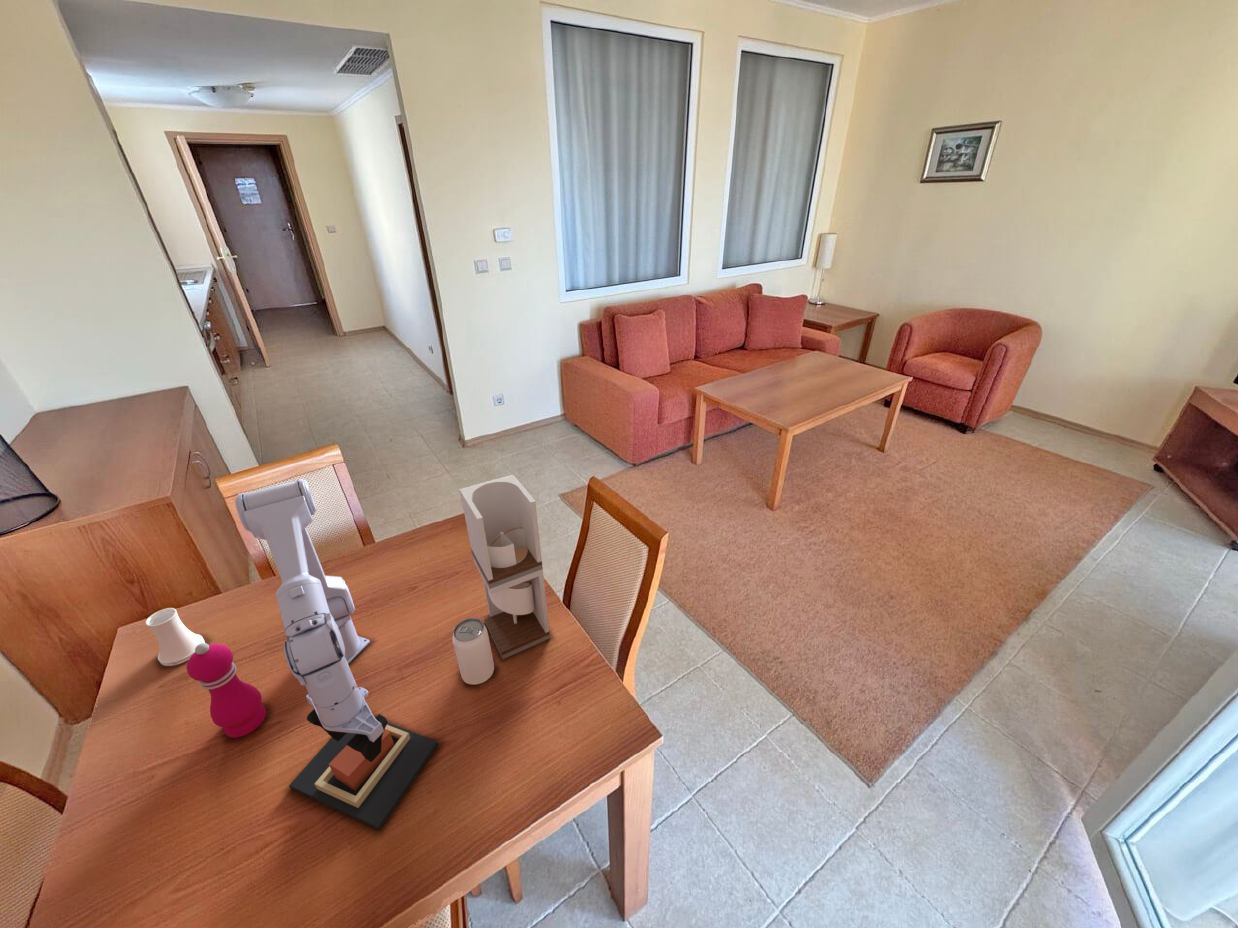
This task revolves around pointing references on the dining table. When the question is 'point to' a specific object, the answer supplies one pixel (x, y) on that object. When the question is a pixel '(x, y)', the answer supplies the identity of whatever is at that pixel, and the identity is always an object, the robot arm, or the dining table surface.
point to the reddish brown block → (358, 763)
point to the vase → (173, 637)
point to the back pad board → (379, 787)
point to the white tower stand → (508, 561)
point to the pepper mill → (226, 690)
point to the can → (473, 651)
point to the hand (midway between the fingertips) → (358, 745)
